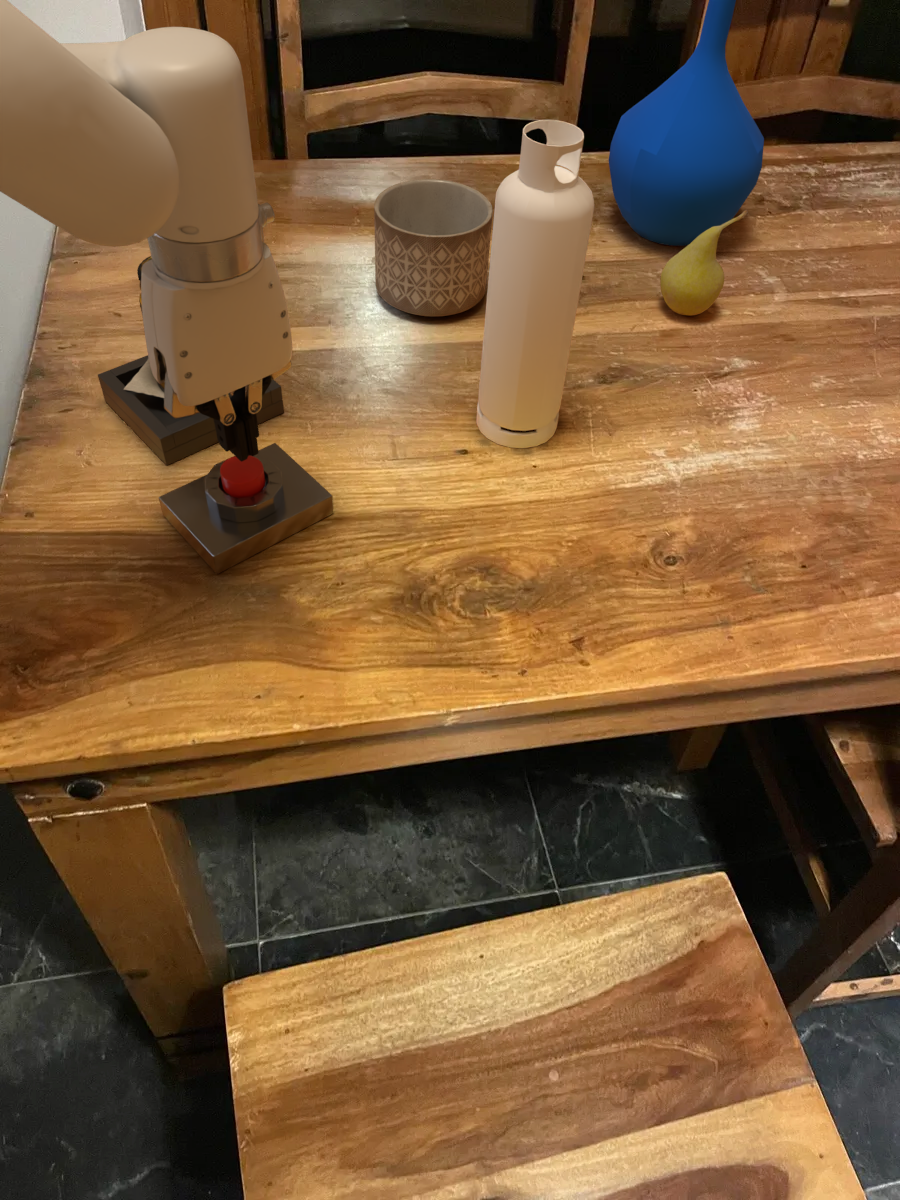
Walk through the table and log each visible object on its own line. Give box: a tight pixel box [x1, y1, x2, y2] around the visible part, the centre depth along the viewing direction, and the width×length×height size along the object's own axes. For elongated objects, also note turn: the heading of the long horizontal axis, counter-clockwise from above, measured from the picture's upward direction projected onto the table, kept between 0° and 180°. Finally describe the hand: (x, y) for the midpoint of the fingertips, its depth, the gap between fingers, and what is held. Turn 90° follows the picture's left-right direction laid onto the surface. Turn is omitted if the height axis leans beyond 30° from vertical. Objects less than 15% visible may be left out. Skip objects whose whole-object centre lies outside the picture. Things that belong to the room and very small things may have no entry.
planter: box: [373, 178, 494, 317], centre depth 104 cm, size 13×13×10 cm
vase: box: [608, 0, 765, 247], centre depth 109 cm, size 18×18×30 cm
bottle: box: [475, 119, 595, 449], centre depth 82 cm, size 8×8×28 cm
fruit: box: [659, 209, 749, 316], centre depth 103 cm, size 7×8×12 cm
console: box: [158, 442, 334, 575], centre depth 81 cm, size 12×9×4 cm
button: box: [220, 455, 265, 498], centre depth 79 cm, size 4×4×2 cm
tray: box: [97, 354, 285, 466], centre depth 91 cm, size 13×12×3 cm
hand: (240, 448), depth 77 cm, fingers closed
